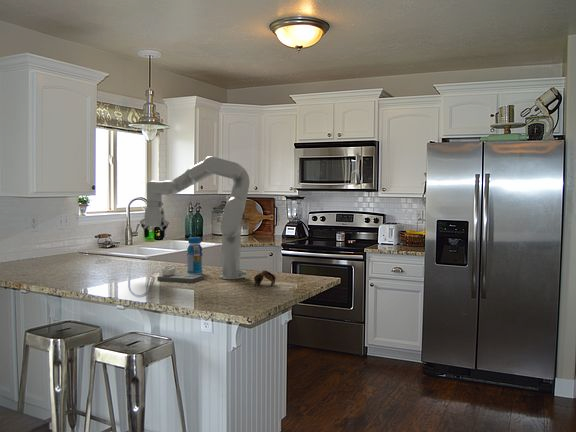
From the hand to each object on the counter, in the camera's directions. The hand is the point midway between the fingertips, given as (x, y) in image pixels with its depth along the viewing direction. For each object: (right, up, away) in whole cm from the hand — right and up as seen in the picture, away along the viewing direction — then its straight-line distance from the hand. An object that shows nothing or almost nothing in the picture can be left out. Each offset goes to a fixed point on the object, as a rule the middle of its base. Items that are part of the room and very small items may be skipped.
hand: (154, 237), depth 271 cm
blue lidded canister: (+19, -21, +14) cm, 31 cm away
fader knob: (+8, -19, -3) cm, 21 cm away
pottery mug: (+58, -23, -20) cm, 65 cm away
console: (+15, -21, -5) cm, 27 cm away
